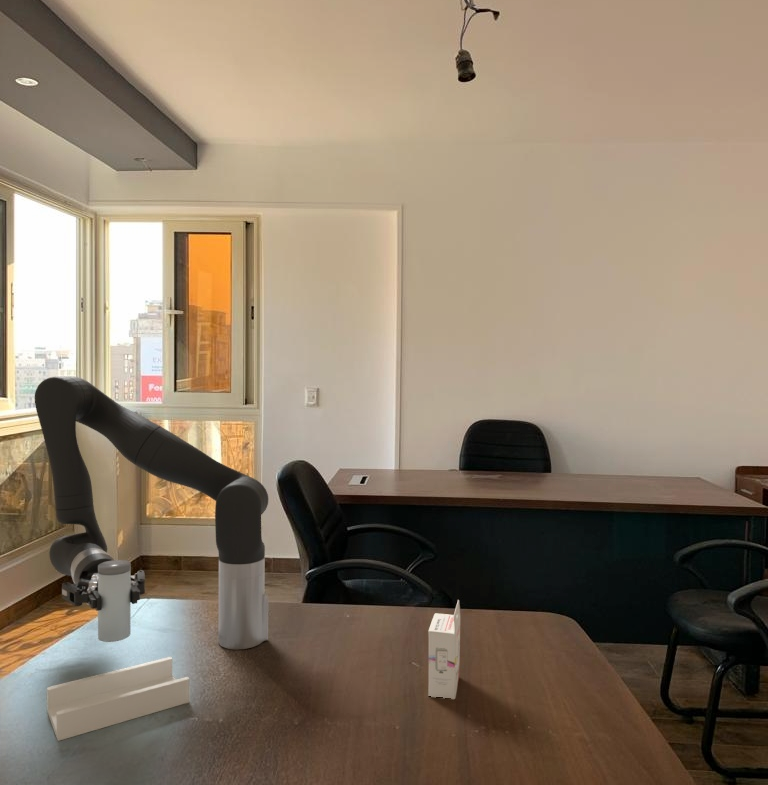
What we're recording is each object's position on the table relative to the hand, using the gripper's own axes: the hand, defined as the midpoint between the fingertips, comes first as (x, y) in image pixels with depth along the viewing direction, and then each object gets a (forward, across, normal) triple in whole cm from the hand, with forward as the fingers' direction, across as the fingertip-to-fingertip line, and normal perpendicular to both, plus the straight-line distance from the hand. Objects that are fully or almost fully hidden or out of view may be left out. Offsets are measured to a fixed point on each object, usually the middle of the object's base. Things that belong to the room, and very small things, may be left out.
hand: (117, 600), depth 106 cm
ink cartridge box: (+24, +50, +18) cm, 58 cm away
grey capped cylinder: (-2, 0, +6) cm, 7 cm away
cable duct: (0, 0, +18) cm, 18 cm away
